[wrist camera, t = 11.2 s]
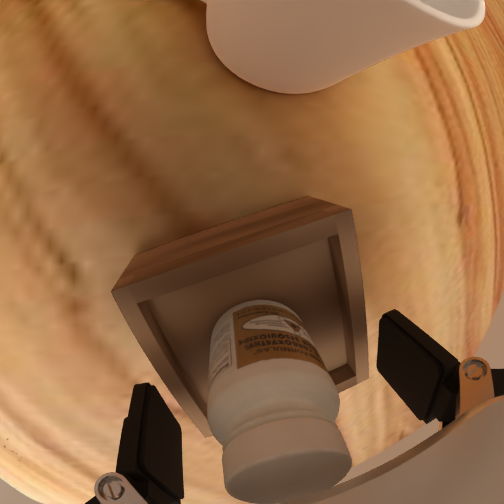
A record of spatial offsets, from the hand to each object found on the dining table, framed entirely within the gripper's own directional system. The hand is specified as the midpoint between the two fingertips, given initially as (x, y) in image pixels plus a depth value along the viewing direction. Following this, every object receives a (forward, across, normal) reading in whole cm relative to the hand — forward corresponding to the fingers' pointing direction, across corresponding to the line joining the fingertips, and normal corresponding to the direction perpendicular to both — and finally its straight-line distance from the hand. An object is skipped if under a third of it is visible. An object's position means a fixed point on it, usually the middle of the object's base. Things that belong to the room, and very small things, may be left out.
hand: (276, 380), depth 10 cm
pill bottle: (+3, 0, 0) cm, 3 cm away
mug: (+7, -4, -16) cm, 18 cm away
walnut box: (+7, 0, 0) cm, 7 cm away
